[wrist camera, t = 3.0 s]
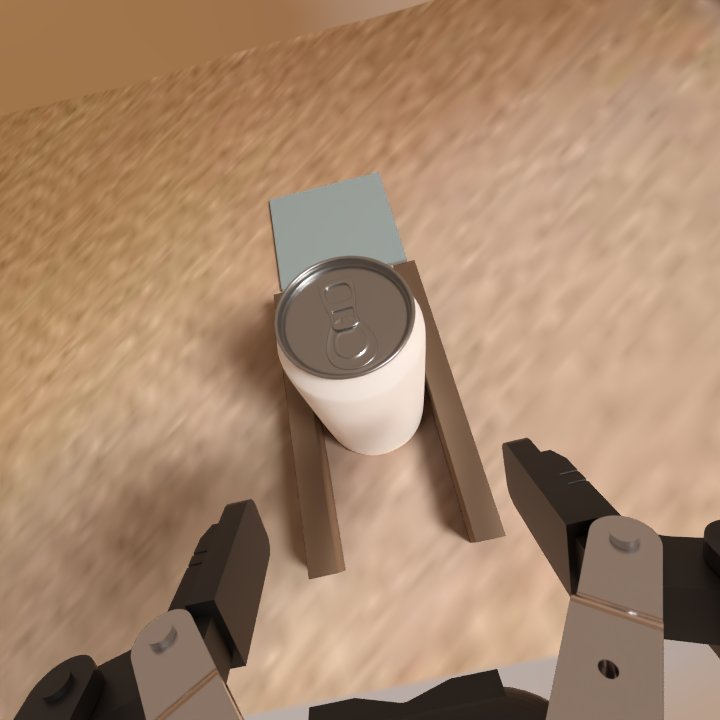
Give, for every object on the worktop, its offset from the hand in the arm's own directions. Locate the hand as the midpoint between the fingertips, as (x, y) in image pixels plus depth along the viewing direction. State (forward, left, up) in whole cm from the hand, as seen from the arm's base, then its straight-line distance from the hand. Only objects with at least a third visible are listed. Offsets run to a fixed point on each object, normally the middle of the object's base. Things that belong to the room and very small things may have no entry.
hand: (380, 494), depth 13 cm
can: (0, +7, -12) cm, 14 cm away
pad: (0, +23, -12) cm, 26 cm away
